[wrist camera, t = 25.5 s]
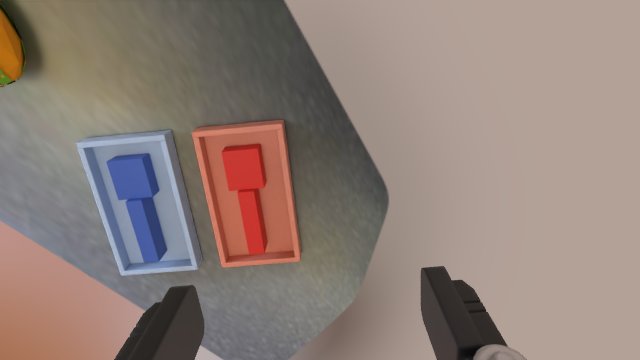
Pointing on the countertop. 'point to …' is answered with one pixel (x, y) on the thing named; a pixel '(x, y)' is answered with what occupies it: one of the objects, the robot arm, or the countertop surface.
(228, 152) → the red paddle block
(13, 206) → the countertop surface
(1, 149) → the countertop surface
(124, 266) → the blue tray
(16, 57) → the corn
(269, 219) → the red tray
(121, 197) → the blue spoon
